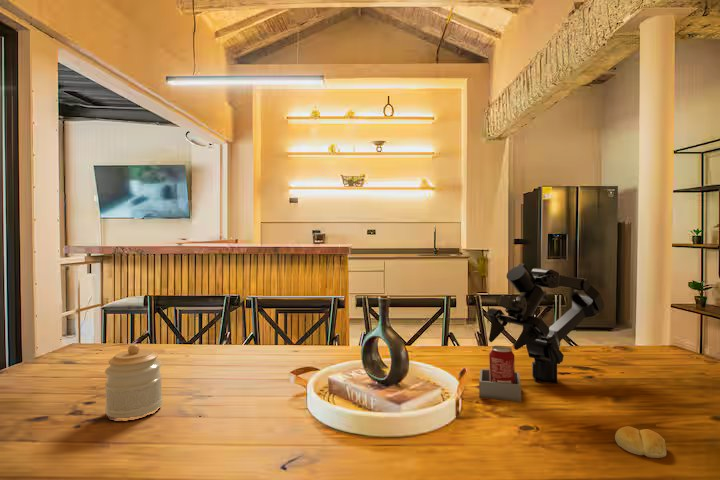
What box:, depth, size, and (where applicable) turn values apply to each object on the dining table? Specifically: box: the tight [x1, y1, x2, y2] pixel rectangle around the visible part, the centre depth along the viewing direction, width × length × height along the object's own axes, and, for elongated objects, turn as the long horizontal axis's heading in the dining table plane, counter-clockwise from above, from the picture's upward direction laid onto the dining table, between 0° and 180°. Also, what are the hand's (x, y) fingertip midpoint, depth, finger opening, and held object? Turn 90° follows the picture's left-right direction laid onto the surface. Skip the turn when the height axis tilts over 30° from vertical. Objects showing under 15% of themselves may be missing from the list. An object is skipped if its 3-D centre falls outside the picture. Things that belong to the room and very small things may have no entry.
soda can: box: [488, 345, 516, 384], centre depth 116 cm, size 7×7×12 cm
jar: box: [104, 343, 163, 418], centre depth 107 cm, size 13×13×18 cm
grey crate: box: [478, 368, 522, 403], centre depth 117 cm, size 11×11×4 cm
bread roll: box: [614, 425, 667, 459], centre depth 87 cm, size 8×9×4 cm
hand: (502, 345), depth 117 cm, fingers open, 9 cm apart
